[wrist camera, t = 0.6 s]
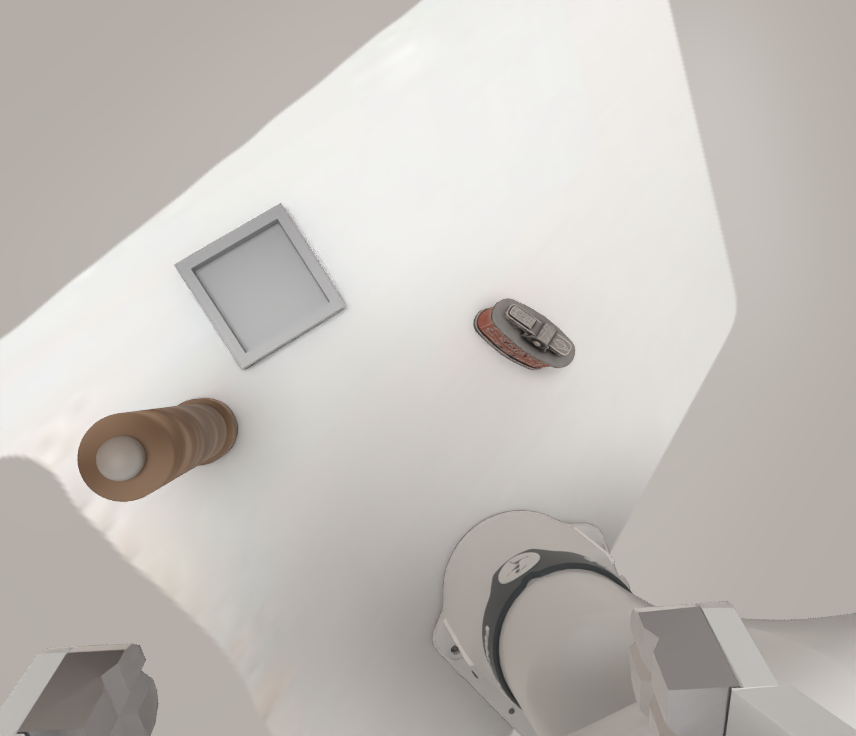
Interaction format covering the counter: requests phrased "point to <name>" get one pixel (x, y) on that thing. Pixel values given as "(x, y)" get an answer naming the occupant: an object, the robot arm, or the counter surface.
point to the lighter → (524, 335)
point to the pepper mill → (153, 447)
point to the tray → (260, 286)
